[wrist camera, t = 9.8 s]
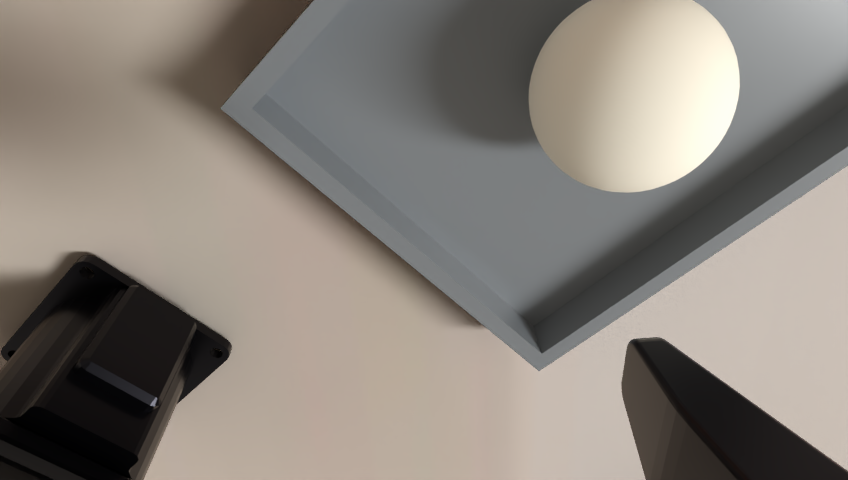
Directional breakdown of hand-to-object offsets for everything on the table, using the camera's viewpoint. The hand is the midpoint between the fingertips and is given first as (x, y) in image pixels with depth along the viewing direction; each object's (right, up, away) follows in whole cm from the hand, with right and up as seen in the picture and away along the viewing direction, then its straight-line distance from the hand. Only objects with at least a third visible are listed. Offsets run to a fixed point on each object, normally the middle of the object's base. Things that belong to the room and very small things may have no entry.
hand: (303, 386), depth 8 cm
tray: (+7, +8, +10) cm, 14 cm away
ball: (+7, +6, +7) cm, 11 cm away
